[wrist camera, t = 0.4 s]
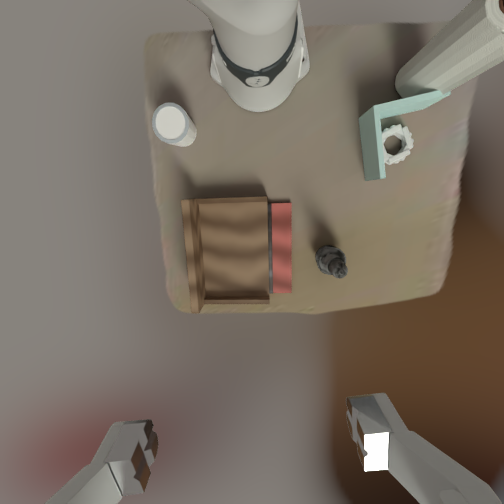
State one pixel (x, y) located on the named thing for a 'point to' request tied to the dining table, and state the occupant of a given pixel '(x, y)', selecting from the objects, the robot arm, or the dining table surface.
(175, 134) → the white tapered cup
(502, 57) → the paper towel roll
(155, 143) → the dining table surface
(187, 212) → the tray
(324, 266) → the stone chess piece
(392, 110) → the l-shaped corner panel
